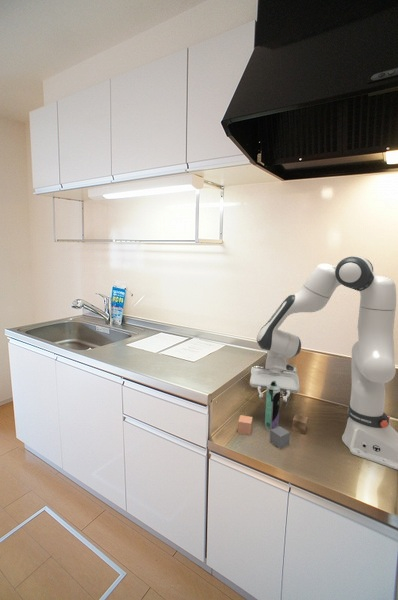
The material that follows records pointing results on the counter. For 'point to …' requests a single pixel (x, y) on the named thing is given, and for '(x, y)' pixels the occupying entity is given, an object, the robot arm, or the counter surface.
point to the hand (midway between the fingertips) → (272, 399)
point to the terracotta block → (245, 425)
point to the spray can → (272, 406)
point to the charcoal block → (279, 437)
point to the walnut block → (300, 424)
